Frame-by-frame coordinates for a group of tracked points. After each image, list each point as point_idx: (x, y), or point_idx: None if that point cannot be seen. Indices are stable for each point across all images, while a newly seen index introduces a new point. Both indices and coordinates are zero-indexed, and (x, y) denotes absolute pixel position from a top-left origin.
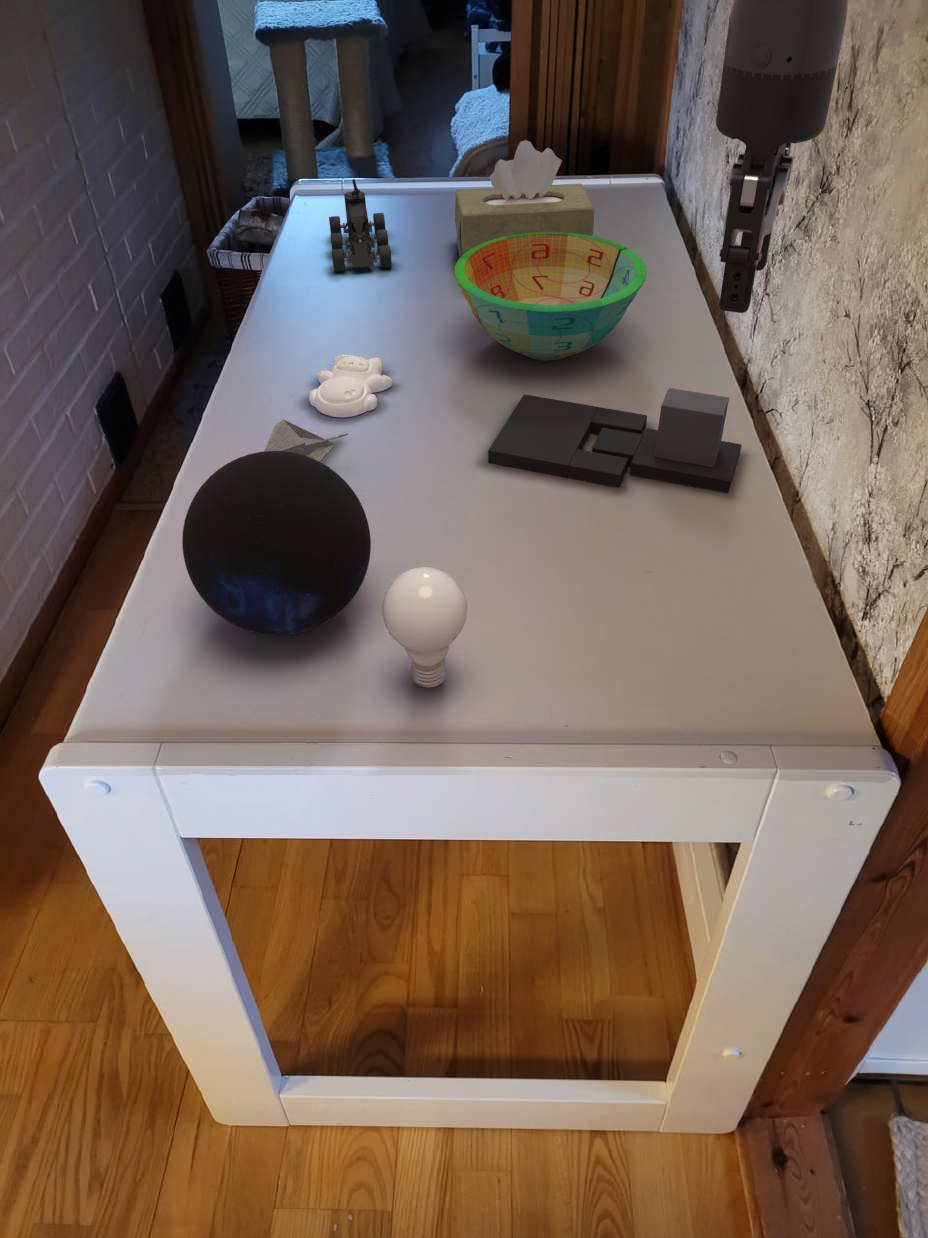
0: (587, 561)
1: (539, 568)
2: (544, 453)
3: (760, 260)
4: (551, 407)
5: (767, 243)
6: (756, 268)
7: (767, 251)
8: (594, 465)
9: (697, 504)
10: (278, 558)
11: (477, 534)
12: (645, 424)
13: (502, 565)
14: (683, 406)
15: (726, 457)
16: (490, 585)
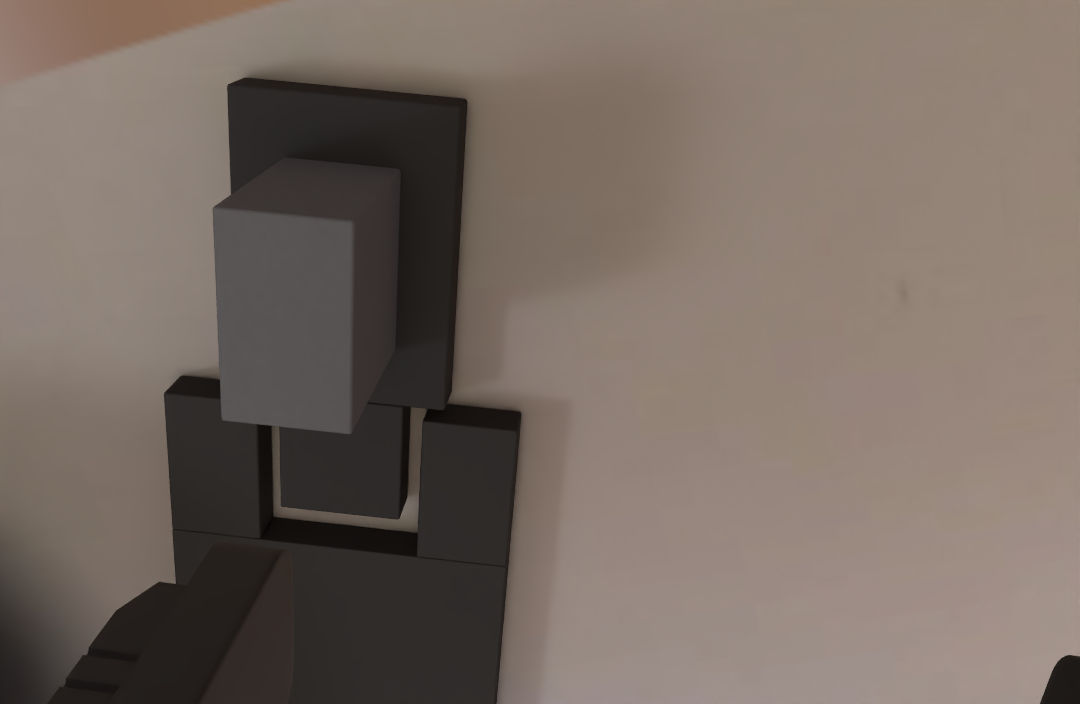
0: (876, 448)
1: (921, 551)
2: (466, 630)
3: (271, 616)
4: None
5: (213, 692)
6: (286, 588)
7: (238, 632)
8: (486, 503)
9: (549, 188)
10: None
11: (803, 698)
12: (188, 383)
13: (919, 629)
14: (336, 363)
15: (325, 130)
16: (1000, 641)
